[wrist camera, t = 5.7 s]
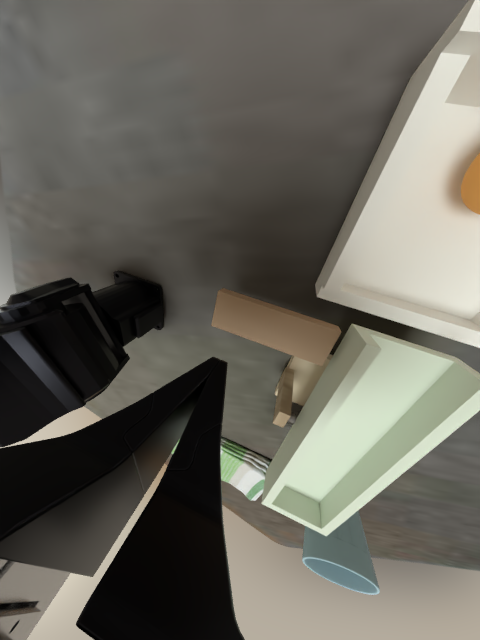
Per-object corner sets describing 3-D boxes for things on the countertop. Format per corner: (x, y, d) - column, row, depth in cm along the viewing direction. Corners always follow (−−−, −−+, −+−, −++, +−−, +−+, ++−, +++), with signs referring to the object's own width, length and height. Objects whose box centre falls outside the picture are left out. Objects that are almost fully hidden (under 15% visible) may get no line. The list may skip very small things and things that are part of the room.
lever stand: (273, 387, 24) (263, 438, 19) (295, 341, 20) (291, 390, 14) (356, 420, 22) (372, 486, 17) (400, 379, 18) (441, 450, 13)
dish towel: (256, 489, 42) (253, 509, 40) (170, 445, 46) (161, 461, 43) (282, 460, 33) (279, 484, 30) (171, 407, 36) (159, 424, 33)
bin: (315, 284, 16) (317, 307, 12) (410, 77, 10) (487, -25, 6) (465, 329, 14) (529, 375, 10) (706, 113, 8) (1139, 3, 4)
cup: (293, 456, 30) (289, 552, 22) (340, 452, 26) (356, 568, 18) (319, 482, 32) (324, 582, 23) (366, 482, 28) (393, 602, 19)
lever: (191, 435, 23) (178, 461, 20) (224, 281, 14) (207, 290, 12) (322, 498, 20) (326, 536, 18) (456, 357, 12) (503, 390, 9)
